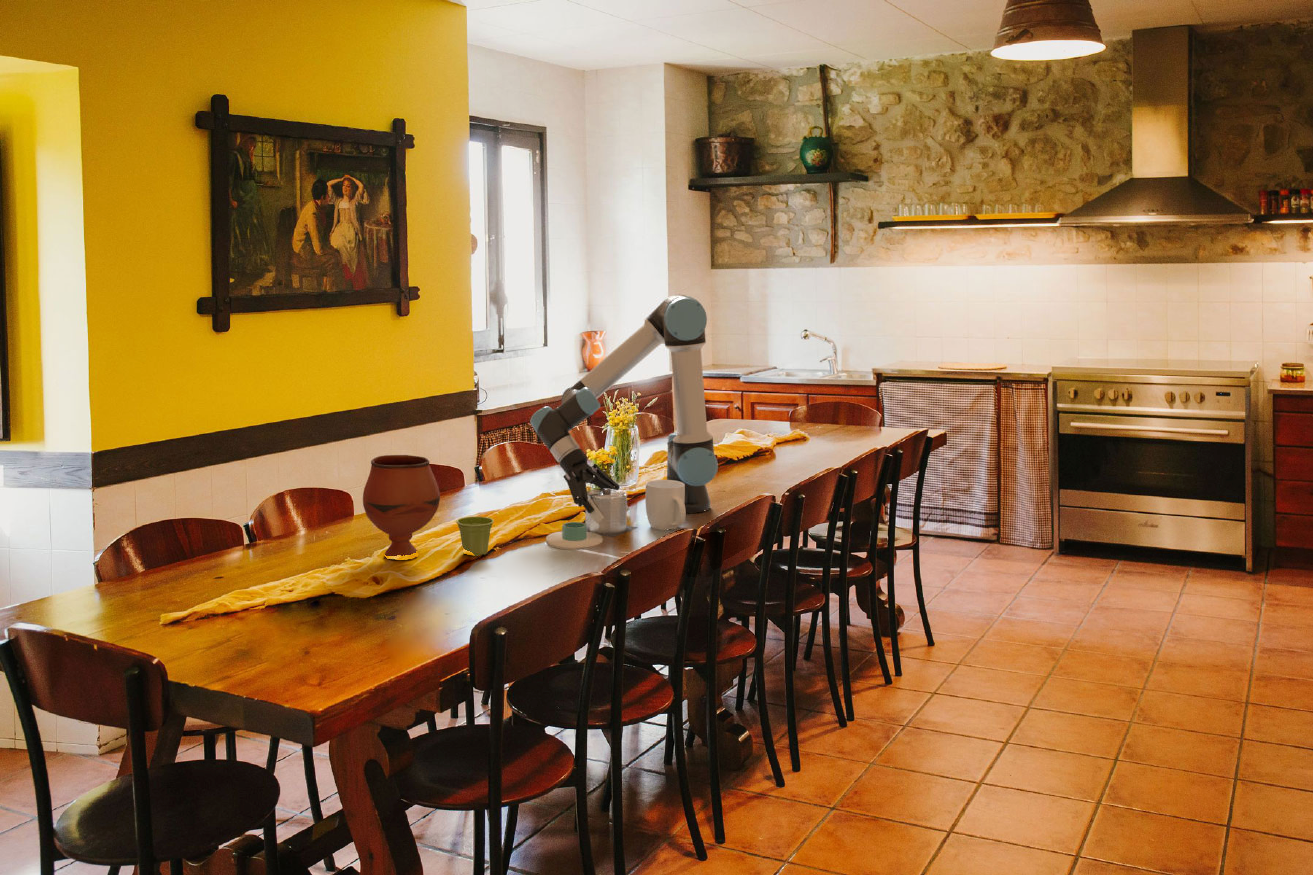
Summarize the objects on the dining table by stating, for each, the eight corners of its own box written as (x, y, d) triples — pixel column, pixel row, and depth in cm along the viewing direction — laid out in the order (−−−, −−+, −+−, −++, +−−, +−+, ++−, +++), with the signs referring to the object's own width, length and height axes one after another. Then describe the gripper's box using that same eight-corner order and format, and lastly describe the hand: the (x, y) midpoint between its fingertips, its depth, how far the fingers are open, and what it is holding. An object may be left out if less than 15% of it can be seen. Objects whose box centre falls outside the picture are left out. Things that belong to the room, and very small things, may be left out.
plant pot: (458, 548, 300) (457, 516, 299) (494, 548, 301) (494, 516, 300) (455, 558, 291) (454, 525, 290) (492, 558, 292) (492, 525, 291)
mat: (599, 522, 331) (599, 520, 331) (638, 529, 324) (638, 527, 324) (573, 531, 320) (573, 529, 320) (612, 539, 313) (612, 537, 313)
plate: (568, 531, 319) (568, 515, 319) (613, 540, 312) (613, 523, 311) (534, 543, 307) (535, 526, 306) (581, 552, 299) (581, 535, 298)
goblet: (414, 570, 280) (413, 470, 276) (347, 561, 286) (344, 462, 282) (454, 551, 298) (453, 456, 293) (390, 542, 304) (388, 449, 300)
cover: (600, 521, 329) (601, 483, 327) (633, 527, 324) (634, 488, 322) (577, 529, 320) (578, 490, 318) (611, 535, 314) (612, 495, 312)
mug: (699, 534, 321) (700, 488, 318) (666, 539, 315) (667, 492, 312) (669, 522, 333) (670, 478, 331) (637, 526, 327) (638, 481, 325)
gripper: (586, 457, 337) (629, 515, 332) (535, 470, 317) (580, 533, 311) (601, 441, 333) (645, 500, 328) (551, 453, 313) (596, 517, 308)
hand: (613, 516), depth 320 cm, fingers open, 12 cm apart
